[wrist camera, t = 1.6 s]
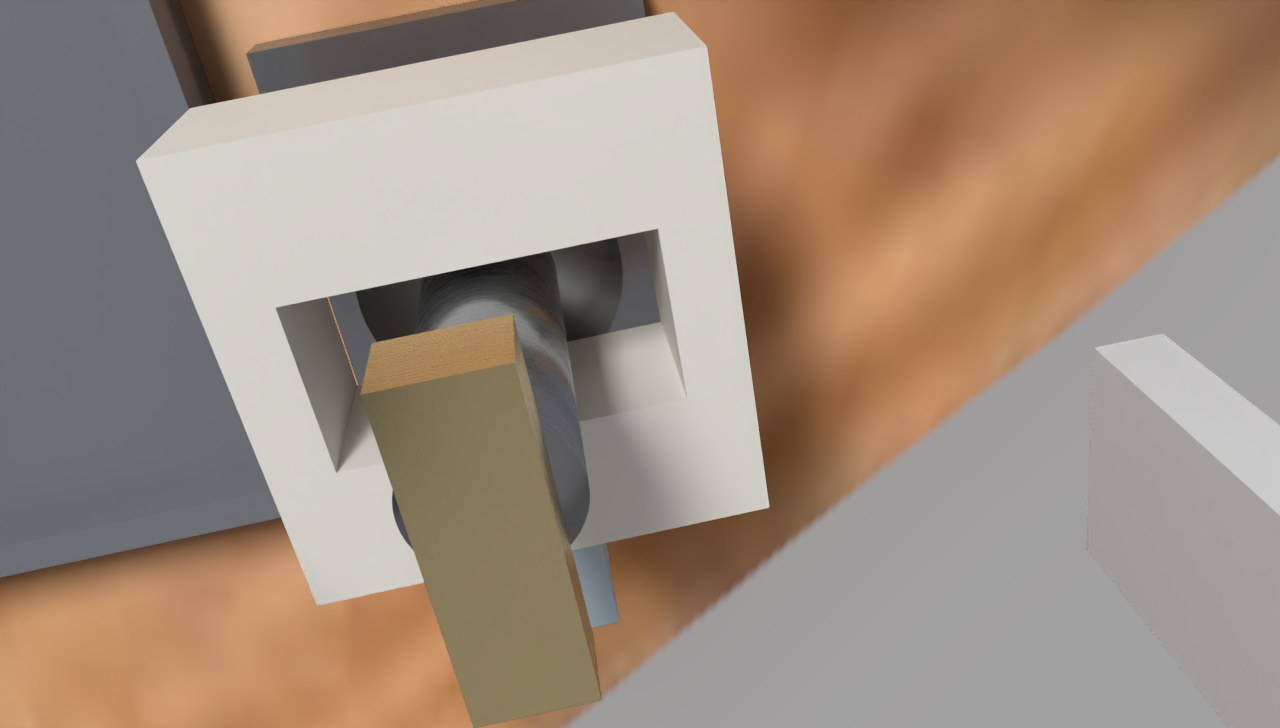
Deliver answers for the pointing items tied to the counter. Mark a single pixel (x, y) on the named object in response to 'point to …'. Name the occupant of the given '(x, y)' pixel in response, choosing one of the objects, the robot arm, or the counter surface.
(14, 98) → the tray
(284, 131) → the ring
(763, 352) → the counter surface
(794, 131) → the counter surface
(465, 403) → the metal post stand
